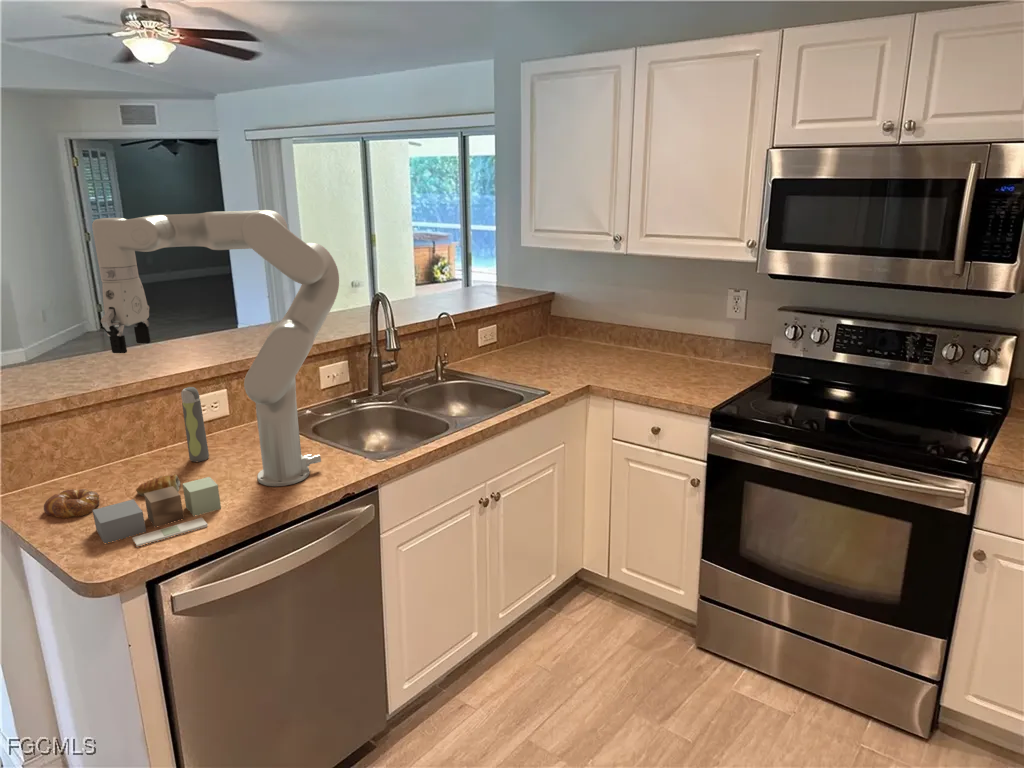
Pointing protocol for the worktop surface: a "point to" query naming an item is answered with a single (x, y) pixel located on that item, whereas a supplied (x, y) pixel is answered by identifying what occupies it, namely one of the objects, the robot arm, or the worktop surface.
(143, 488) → the pastry
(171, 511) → the walnut block
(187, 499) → the sage block
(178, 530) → the card
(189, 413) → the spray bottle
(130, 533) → the base block
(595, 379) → the worktop surface
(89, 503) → the pretzel
